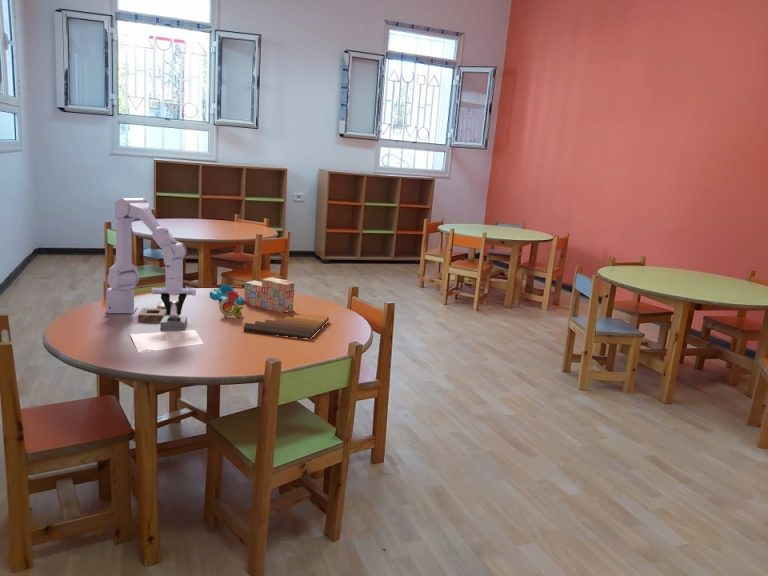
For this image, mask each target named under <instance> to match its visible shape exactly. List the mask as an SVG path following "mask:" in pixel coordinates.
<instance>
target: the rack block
mask: <svg viewBox="0 0 768 576" xmlns="http://www.w3.org/2000/svg"><path fill="white" fill-rule="evenodd" d="M159 323H160V324H159V325H160V330H185V329H186V327H187V325H188V324H187V323H188V316H187V315H179V321H169V315H168V316H164V317H163V318H162V320H161V322H159Z"/></svg>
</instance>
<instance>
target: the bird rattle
mask: <svg viewBox="0 0 768 576" xmlns="http://www.w3.org/2000/svg"><path fill="white" fill-rule="evenodd" d="M235 291H236V290H235ZM235 291H231V292H230V291H228V292H226V293H227V296H228V298H225V299H223V300H222V301H221V303H220V304H219V311H220V313H221V314H222V315H223V317H224V318H227V317H231V316H236V318H240V317H241V316H243V312H242V310H243V309H244V307H243V305H238V304H237V302H236V301H235V299H238V298H239V296H240V295H239V294H238V292H237V291H236V292H235ZM226 302H230V303H232V305H231V304H230V303H226Z"/></svg>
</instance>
